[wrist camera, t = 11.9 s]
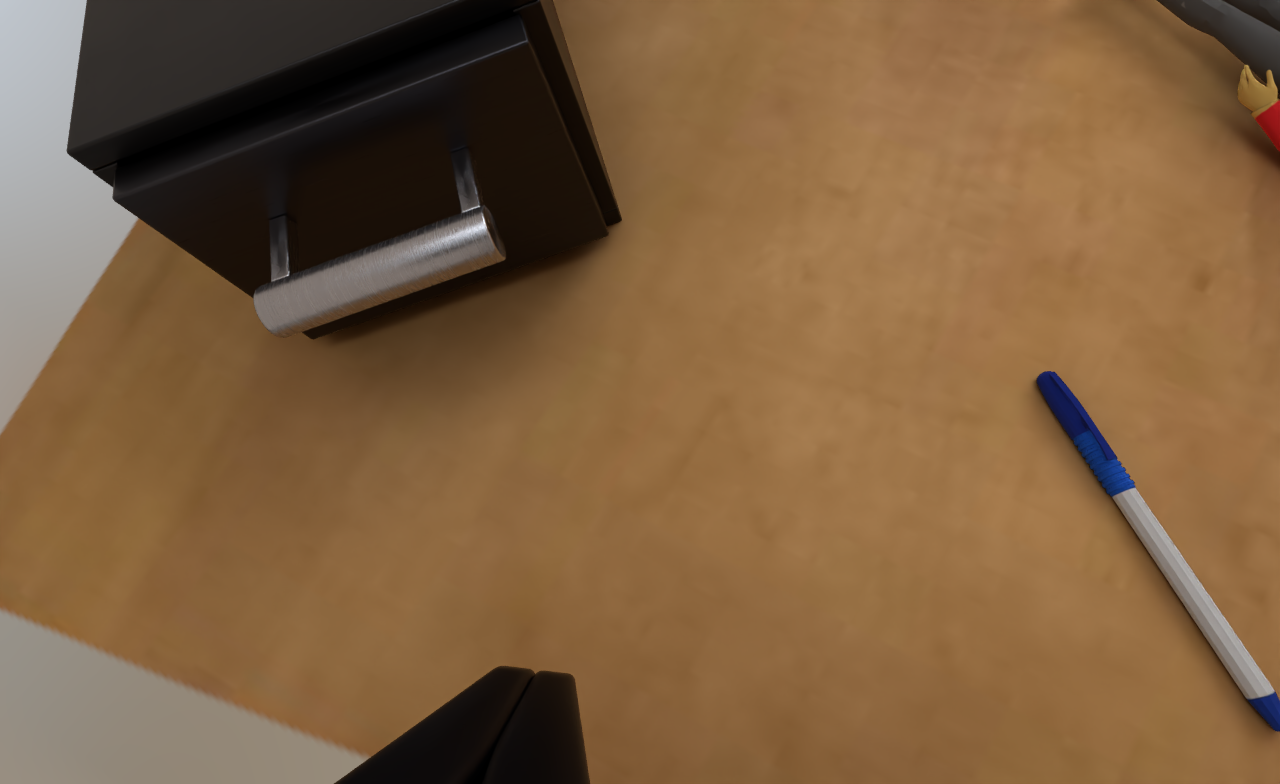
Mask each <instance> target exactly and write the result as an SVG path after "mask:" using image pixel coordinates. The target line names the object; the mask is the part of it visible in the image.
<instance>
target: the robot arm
mask: <svg viewBox="0 0 1280 784" xmlns="http://www.w3.org/2000/svg"><path fill="white" fill-rule="evenodd" d="M334 784H590V780H589V773H588V766H587V760H586V753H585V746H584V739H583V732H582V726H581V719H580V712H579V705H578V698H577V691H576V685H575V679H574V677H573V676H572V675H571V674H568V673H559V672H551V671H539V672H537V673H536V674H535V673H534V671H533V670H531V669H526V668H517V667H509V666H499V667H497V668H495V669H493V670H492V671H490V672H489V673H488V674H486V675H485V676H483V677H482V678H481V679H479V680H478V681H476V682H475V683H474V684H472V685H471V686H469V687H468V688H467V689H465V690H464V691H463V692H461V693H460V694H458V695H457V696H456V697H454V698H453V699H451V700H450V701H449V702H447V703H446V704H444V705H443V706H442V707H440V708H439V709H437V710H436V711H435V712H433V713H432V714H430V715H429V716H428V717H426V718H425V719H423V720H422V721H421V722H419V723H418V724H417V725H415V726H414V727H412V728H411V729H410V730H408V731H407V732H405V733H404V734H403V735H401V736H400V737H398V738H397V739H396V740H394V741H393V742H391V743H390V744H389V745H387V746H386V747H384V748H383V749H382V750H380V751H379V752H378V753H376V754H375V755H373V756H372V757H371V758H369V759H368V760H366V761H365V762H364V763H362V764H361V765H359V766H358V767H357V768H355V769H354V770H352V771H351V772H350V773H348V774H347V775H346V776H344V777H343V778H341V779H340V780H339V781H337V782H336V783H334Z"/></svg>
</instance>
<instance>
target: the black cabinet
mask: <svg viewBox="0 0 1280 784" xmlns="http://www.w3.org/2000/svg"><path fill="white" fill-rule="evenodd" d="M511 9H512V11H513V13H514V16H515V15H518V14H520V15H521V16H522V17H523V19H524V22H525V24H526V27H527V29H528V32H529V34H530V36H531V39H532V41H533V44H534V46H535V49H536V51H537V54H538V56H539V58H540V61H541V63H542V66H543V68H544V71H545V73H546V76H547V78H548V80H549V83H550V85H551V88H552V90H553V93H554V95H555V98H556V100H557V102H558V105H559V107H560V110H561V112H562V115H563V117H564V120H565V122H566V124H567V127H568V129H569V132H570V134H571V137H572V139H573V142H574V144H575V146H576V149H577V151H578V154H579V156H580V159H581V161H582V164H583V166H584V168H585V171H586V173H587V176H588V178H589V181H590V183H591V186H592V188H593V190H594V193H595V195H596V198H597V200H598V203H599V205H600V208H601V210H602V213H603V216H604V219H605V222H606V226H608V225H611V224H613V223H616V222H619V221H621V220H622V218H621V215H620V212H619V209H618V205H617V202H616V199H615V196H614V193H613V190H612V186H611V183H610V180H609V177H608V174H607V171H606V168H605V164H604V161H603V158H602V155H601V152H600V149H599V145H598V142H597V139H596V136H595V133H594V130H593V126H592V123H591V120H590V117H589V114H588V111H587V107H586V104H585V101H584V98H583V95H582V92H581V88H580V85H579V82H578V79H577V76H576V73H575V70H574V66H573V63H572V60H571V57H570V54H569V51H568V47H567V44H566V41H565V38H564V35H563V32H562V28H561V25H560V22H559V19H558V16H557V13H556V9H555V6H554V3H553V0H87V3H86V11H85V19H84V26H83V33H82V41H81V48H80V55H79V63H78V70H77V78H76V85H75V93H74V100H73V108H72V115H71V122H70V130H69V138H68V145H67V153H68V154H69V155H70V156H71V157H73V158H74V159H76V160H77V161H78V162H80V163H81V164H82V165H84V166H86V167H87V168H88V169H89V170H93V173H94V174H95V175H97V176H98V177H99V178H101V179H102V180H104V181H105V182H106V183H108V184H109V185H111V186H112V187H114V176H115V170H116V169H117V168H119V167H122V166H124V165H127V164H130V163H132V162H135V161H137V160H140V159H143V158H145V157H148V156H150V155H153V154H156V153H158V152H161V151H163V150H166V149H165V148H164V147H163V146H161V144H163V143H166V142H169V141H171V140H174V139H176V138H179V137H182V136H184V135H187V134H189V133H192V132H195V131H197V130H200V129H202V128H205V127H208V126H210V125H213V124H215V123H218V122H220V121H223V120H226V119H228V118H231V117H233V116H236V115H239V114H241V113H244V112H246V111H249V110H252V109H254V108H257V107H259V106H262V105H265V104H267V103H270V102H272V101H275V100H278V99H280V98H283V97H285V96H288V95H291V94H293V93H296V92H298V91H301V90H304V89H306V88H309V87H311V86H314V85H317V84H319V83H322V82H324V81H327V80H330V79H332V78H335V77H337V76H340V75H343V74H345V73H348V72H350V71H353V70H356V69H358V68H361V67H363V66H366V65H369V64H371V63H374V62H376V61H379V60H382V59H384V58H387V57H389V56H392V55H395V54H397V53H400V52H402V51H405V50H408V49H410V48H413V47H415V46H418V45H421V44H423V43H426V42H428V41H431V40H434V39H436V38H439V37H441V36H444V35H447V34H449V33H452V32H454V31H457V30H459V29H462V28H465V27H467V26H470V25H472V24H475V23H478V22H480V21H483V20H485V19H488V18H491V17H493V16H496V15H498V14H501V13H504V12H506V11H509V10H511Z"/></svg>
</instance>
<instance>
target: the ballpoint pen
mask: <svg viewBox="0 0 1280 784" xmlns="http://www.w3.org/2000/svg"><path fill="white" fill-rule="evenodd" d="M1037 384H1038V386H1039V388H1040V390H1041V392H1042V394H1043V396H1044V398H1045V399H1046V401H1047V403H1048V405H1049V407H1050V408H1051V410H1052V411H1053V413H1054V414H1055V416H1056V417H1057V419H1058V420H1059V422H1060V423H1061V425H1062V426H1063V428H1064V429H1065V431H1066V432H1067V434H1068V435H1069V437H1070V438H1071V440H1074V444H1075V446H1078V450H1079V452H1082V454H1081V455H1082V456H1083V458H1086V460H1085V461H1086V462H1087V464H1088V463H1089V464H1090V466H1089V467H1090V468H1091V470H1092V469H1093V470H1094V472H1093V473H1094V474H1095V476H1096V475H1097V476H1098V480H1099V482H1102V486H1103V488H1106V492H1107V494H1110V496H1111V497H1112V498H1113V499H1114V501H1115V502H1116V504H1117V505H1118V507H1119V508H1120V510H1121V511H1122V513H1123V514H1124V516H1125V517H1126V519H1127V520H1128V522H1129V523H1130V525H1131V526H1132V528H1133V529H1134V531H1135V532H1136V534H1137V535H1138V537H1139V538H1140V540H1141V541H1142V543H1143V544H1144V546H1145V547H1146V549H1147V550H1148V552H1149V553H1150V555H1151V556H1152V558H1153V559H1154V561H1155V562H1156V564H1157V565H1158V567H1159V568H1160V570H1161V571H1162V573H1163V574H1164V576H1165V577H1166V579H1167V580H1168V582H1169V583H1170V585H1171V586H1172V588H1173V589H1174V591H1175V592H1176V594H1177V595H1178V597H1179V598H1180V600H1181V601H1182V603H1183V604H1184V606H1185V607H1186V609H1187V610H1188V612H1189V613H1190V615H1191V616H1192V618H1193V619H1194V621H1195V622H1196V624H1197V625H1198V627H1199V628H1200V630H1201V631H1202V633H1203V634H1204V636H1205V637H1206V639H1207V640H1208V642H1209V643H1210V645H1211V646H1212V648H1213V649H1214V651H1215V652H1216V654H1217V655H1218V657H1219V658H1220V660H1221V661H1222V663H1223V664H1224V666H1225V667H1226V669H1227V670H1228V672H1229V673H1230V675H1231V676H1232V678H1233V679H1234V681H1235V682H1236V684H1237V685H1238V687H1239V688H1240V690H1241V691H1242V693H1243V694H1244V696H1245V697H1246V699H1247V700H1248V701H1249V702H1250V703H1251V705H1252V706H1253V707H1254V708H1255V709H1256V710H1257V711H1258V712H1259V713H1260V715H1261V716H1262V717H1263V718H1264V719H1265V720H1266V721H1267V722H1268V724H1269V725H1270V726H1271V727H1272V728H1273V729H1274V730H1275V731H1280V701H1279V698H1278V696H1277V694H1276V692H1275V690H1274V689H1273V687H1272V686H1271V685H1270V683H1269V682H1268V680H1267V679H1266V677H1265V676H1264V674H1263V673H1262V671H1261V670H1260V669H1259V667H1258V666H1257V664H1256V663H1255V661H1254V660H1253V658H1252V657H1251V655H1250V654H1249V653H1248V651H1247V650H1246V648H1245V647H1244V645H1243V644H1242V642H1241V641H1240V639H1239V638H1238V637H1237V635H1236V634H1235V632H1234V631H1233V629H1232V628H1231V626H1230V625H1229V623H1228V622H1227V620H1226V619H1225V618H1224V616H1223V615H1222V613H1221V612H1220V610H1219V609H1218V607H1217V606H1216V604H1215V603H1214V602H1213V600H1212V599H1211V597H1210V596H1209V594H1208V593H1207V591H1206V590H1205V588H1204V587H1203V586H1202V584H1201V583H1200V581H1199V580H1198V578H1197V577H1196V575H1195V574H1194V572H1193V571H1192V570H1191V568H1190V567H1189V565H1188V564H1187V562H1186V561H1185V559H1184V558H1183V556H1182V555H1181V553H1180V552H1179V551H1178V549H1177V548H1176V546H1175V545H1174V543H1173V542H1172V540H1171V539H1170V537H1169V536H1168V535H1167V533H1166V532H1165V530H1164V529H1163V527H1162V526H1161V524H1160V523H1159V521H1158V520H1157V519H1156V517H1155V516H1154V514H1153V513H1152V511H1151V510H1150V508H1149V507H1148V505H1147V504H1146V503H1145V501H1144V500H1143V498H1142V497H1141V495H1140V494H1139V492H1138V491H1137V489H1136V488H1134V487H1135V485H1134V481H1133V480H1130V478H1129V477H1130V475H1129V474H1126V472H1125V471H1126V470H1125V468H1124V467H1123V468H1122V467H1121V465H1122V464H1121V462H1120V461H1117V456H1116V455H1115V454H1114V452H1113V451H1112V449H1111V448H1110V446H1109V445H1108V443H1107V442H1106V440H1105V439H1104V437H1103V436H1102V434H1101V433H1100V431H1099V430H1098V428H1097V427H1096V425H1095V424H1094V422H1093V421H1092V419H1091V418H1090V417H1089V415H1088V414H1087V412H1086V411H1085V409H1084V408H1083V406H1082V405H1081V404H1080V402H1079V401H1078V399H1077V398H1076V397H1075V396H1074V394H1073V393H1072V392H1071V391H1070V389H1069V388H1068V387H1067V386H1066V384H1065V383H1064V382H1063V381H1062V380H1061V378H1060V377H1059V376H1058V375H1057V374H1056V373H1055V372H1051V371H1047V372H1043V373H1041V374H1040V375H1039V376H1038V378H1037Z"/></svg>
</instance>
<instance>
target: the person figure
mask: <svg viewBox="0 0 1280 784" xmlns="http://www.w3.org/2000/svg"><path fill="white" fill-rule="evenodd" d="M1157 1H1158V2H1160V3H1161V4H1162V5H1164V6H1165V7H1166V8H1167V9H1169V10H1170V11H1171V12H1172V13H1173V14H1175V15H1176V16H1177V17H1179V18H1180V19H1181V20H1183V21H1184V22H1185V23H1186V24H1188V25H1190V26H1192V27H1194V28H1196V29H1198V30H1200V31H1202V32H1204V33H1207V34H1209V35H1211V36H1213V37H1215V38H1216V39H1217V40H1218V41H1219V42H1221V43H1222V44H1223V45H1224V46H1225V47H1226V48H1227V49H1228V50H1230V51H1231V52H1232V53H1233V54H1234V55H1235V56H1236V57H1237V58H1238V59H1240V60H1241V61H1242V62H1243V63H1244V64H1245V66H1244V69H1243V70H1242V73H1241V77H1240V82H1239V85H1238V93H1237V94H1238V99H1239V101H1240V103H1241V104H1243V105H1244V106H1245V107H1247V108H1248V109H1250V110H1251V111H1252V113H1251V115H1252V116H1253V118H1254V119H1255V120H1256V121H1257V123H1258V124H1259V125H1260V126H1261V128H1262V129H1263V130H1264V132H1265V133H1266V134H1267V136H1268V137H1269V138H1270V140H1271V141H1272V142H1273V144H1274V145H1275V147H1276V148H1277V149H1278V151H1279V152H1280V100H1279V99H1277V96H1278V93H1279V94H1280V0H1157ZM1250 69H1251V70H1252V71H1253V72H1254V73H1255V74H1256V75H1257V76H1258V77H1260V78H1261V79H1262V80H1263V81H1264V82H1265V83H1267V86H1264V85H1263V84H1261V83H1259V82H1258V81H1257V80H1256V79H1255V78H1254V76H1253V75H1252V73H1251V71H1250ZM1246 76H1247V78H1248V81H1247V79H1246Z"/></svg>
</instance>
